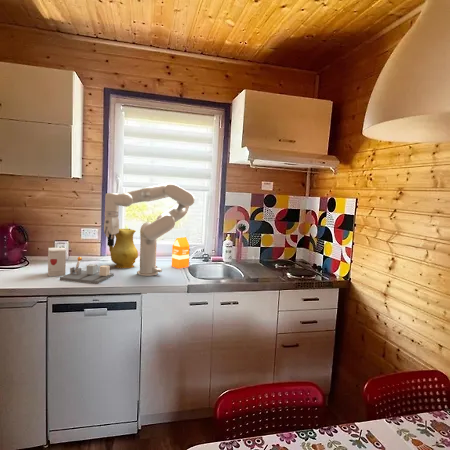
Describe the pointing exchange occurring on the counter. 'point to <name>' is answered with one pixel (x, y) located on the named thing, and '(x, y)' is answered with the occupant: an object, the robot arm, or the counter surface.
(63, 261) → the supplement box
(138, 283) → the counter surface
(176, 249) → the orange juice
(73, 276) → the panel
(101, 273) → the cream slider
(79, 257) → the lever
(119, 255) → the pitcher
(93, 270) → the white cube
